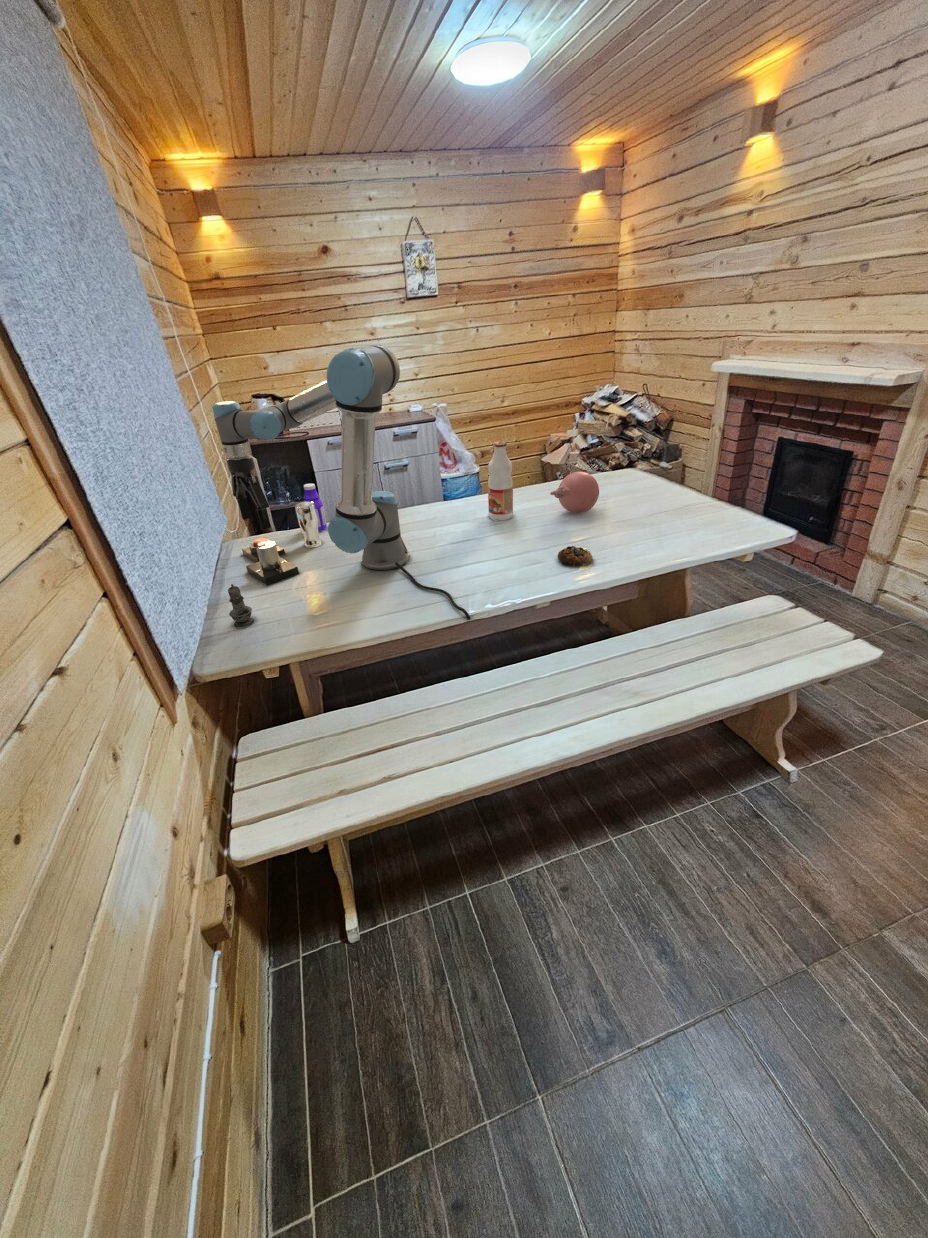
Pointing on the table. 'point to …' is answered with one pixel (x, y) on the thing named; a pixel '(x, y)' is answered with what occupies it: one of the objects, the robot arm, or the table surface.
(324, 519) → the bottle
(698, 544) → the table surface
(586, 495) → the balloon
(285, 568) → the timer panel
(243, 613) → the grey ringed upright piece
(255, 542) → the button
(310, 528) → the beer glass
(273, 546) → the timer dial
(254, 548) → the box
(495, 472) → the fruit juice
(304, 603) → the table surface
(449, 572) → the table surface
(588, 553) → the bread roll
